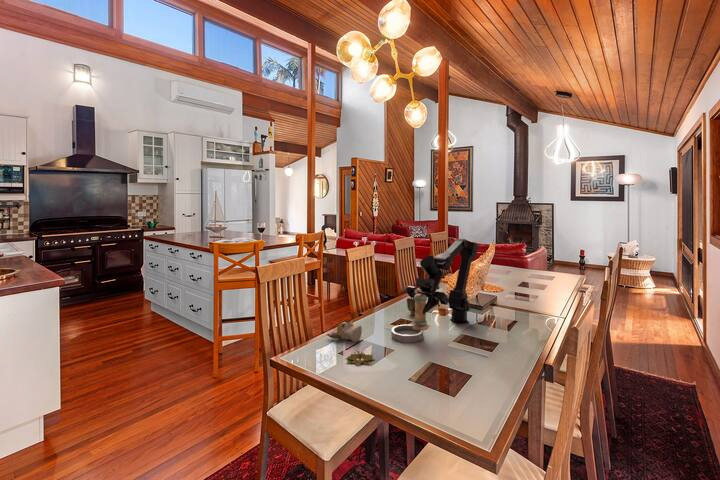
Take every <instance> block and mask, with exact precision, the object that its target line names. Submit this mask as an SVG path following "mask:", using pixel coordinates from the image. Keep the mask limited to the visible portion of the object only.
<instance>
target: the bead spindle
mask: <svg viewBox="0 0 720 480" xmlns="http://www.w3.org/2000/svg"><path fill="white" fill-rule="evenodd" d="M414 300H415V315H414V320H413V323H412V325H413V329H415V330H420V331H422V330H423V331H426V330H428V329H429V324H428V323H427V322H428V321H427V312H426V313H425V314H423V310H424V307H425V305H426V303H427V301H428V297H427V296H426V295H425V294H415V296H414Z"/></svg>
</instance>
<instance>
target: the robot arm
mask: <svg viewBox="0 0 720 480" xmlns="http://www.w3.org/2000/svg"><path fill="white" fill-rule="evenodd" d="M478 252H479V245H478V243H477V242H474V241H473V242H472V241H470V240H468V239H466V238H455V240H454V242H453V243H452V244H451V245H450V246H449V247H448V248H447V249H445V251H444V252H443V253H442V252H441V253H438V254H437V255H435V256H433V255H431V254H428V255H427V256H425V257H424V258H422V259H421V260H420V263H419V265H420V267H421V268H422V270H423V271H424V272H425V274H426V275H427V278H420V277H417V278H416V281H415V286H411V285H408V286H406V287H405V290H404V291H405V293H406V294H407V295H408V297H409V298H410V299H411V298H412V299H413V298H414V296H415V294H425V295H426V296H427V300H426V305H425V307H424V310H423V314H425V313H426V314H427V312H429V311H430V310H432V309H433V308H434V307H436V306H439V305H440V304H441V305H445V306H448V307H449V309H451V310H452V311H451V318H450V321H451V322H453V323H455V324H456V325H460V324H466V323H469V322H470V321H469V320H468V312H469V311H470V310H471V304H470V302H469V299H468V297H469V296H468V294H467V291H466V290H467V285H468V279H469V275H470V271H471V266H472V261H473V260H474V259H475V258H476V257H477V254H478ZM458 255H459V256H460V258H461V259H460V264H459V267H458V272H457V277H456V282H455V286H454V288H453V289H450V291H449V295H448V296H447V295H446V293H445V292H443V291H439V290H440V286H439V285H441V284H440V283H441V281H442V280H444V279H446V276H445V272H443V271H449V270H450V268H451V267H452V265H453V260H454V259H455V258H456V257H457V256H458ZM416 286H417V287H418V288H419V289H418V288H416ZM437 290H438V291H437ZM413 311H414V312H415V300H414V304H413Z"/></svg>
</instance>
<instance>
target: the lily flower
mask: <svg viewBox="0 0 720 480" xmlns="http://www.w3.org/2000/svg"><path fill="white" fill-rule="evenodd" d="M356 352H357V353H356ZM356 352H353V353H350V355H349V356H347V357H346V358H345V359H347V360H348V359H349V360H348V361H347V362H346V365H347V364H356V367H359V366H360V365H361V364H364V365H369V366H371V362H370V361H375V358H373V356H374V355H373V354H366V353H365V352H366V349H365V347H364V348H363V349H362V350H361V351H359V350H356Z"/></svg>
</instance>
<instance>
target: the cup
mask: <svg viewBox="0 0 720 480" xmlns="http://www.w3.org/2000/svg"><path fill="white" fill-rule="evenodd" d="M413 304H414V298H411V297H408V298H406V306H407V310H408V311H409V312H410V315H411V316H415V312H414V311H413Z"/></svg>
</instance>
